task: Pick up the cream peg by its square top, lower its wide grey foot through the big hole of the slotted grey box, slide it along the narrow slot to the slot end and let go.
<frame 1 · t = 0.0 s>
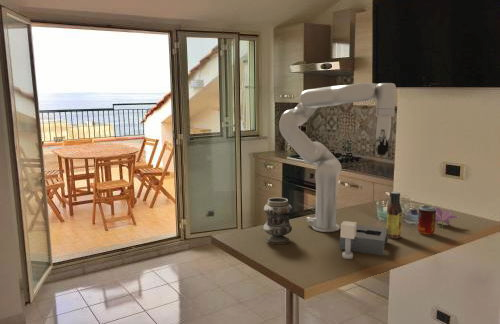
hand: (382, 152, 185), 37 cm above the countertop, tool pointing down, fingers open, 9 cm apart
lily: (442, 226, 203), on the countertop
slotted grey box: (364, 245, 178), on the countertop
peg: (347, 257, 166), on the countertop
soda can: (425, 234, 193), on the countertop
sauce bottle: (393, 237, 189), on the countertop
apothecary jar: (277, 240, 184), on the countertop
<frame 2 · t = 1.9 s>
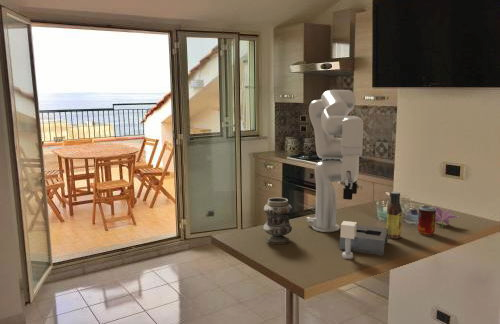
hand: (350, 196, 162), 24 cm above the countertop, tool pointing down, fingers open, 9 cm apart
nothing on the countertop moved.
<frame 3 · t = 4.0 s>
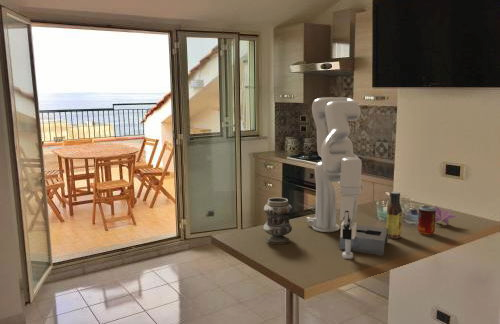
hand: (348, 236, 164), 8 cm above the countertop, tool pointing down, fingers closed on peg, 5 cm apart
peg: (347, 257, 166), on the countertop, touching gripper
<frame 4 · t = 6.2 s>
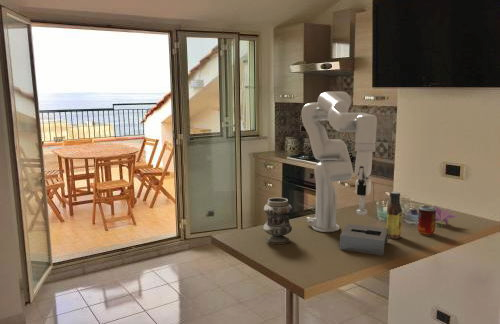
hand: (362, 192, 167), 24 cm above the countertop, tool pointing down, fingers closed on peg, 5 cm apart
peg: (361, 213, 169), point 16 cm above the countertop, touching gripper
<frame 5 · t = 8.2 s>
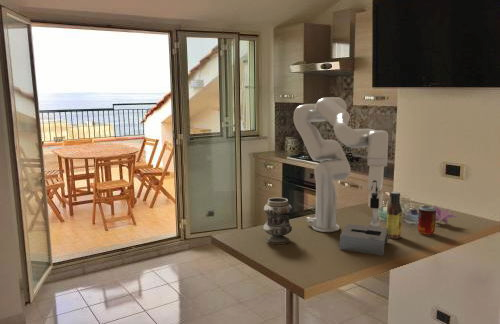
hand: (375, 205, 173), 17 cm above the countertop, tool pointing down, fingers closed on peg, 5 cm apart
peg: (374, 226, 175), point 9 cm above the countertop, touching gripper
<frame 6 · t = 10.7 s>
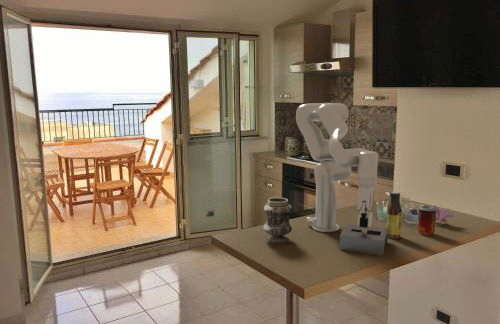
hand: (364, 224, 177), 9 cm above the countertop, tool pointing down, fingers closed on peg, 5 cm apart
peg: (363, 244, 178), point 1 cm above the countertop, touching gripper
when the fingers open (9 cm above the countertop, at t = 12.7 s): peg stays where it is, resting in slotted grey box.
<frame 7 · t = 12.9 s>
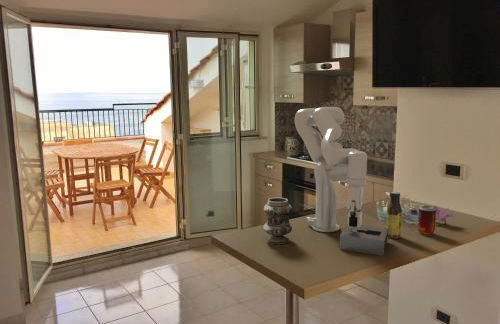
hand: (354, 223, 178), 9 cm above the countertop, tool pointing down, fingers open, 7 cm apart
peg: (353, 244, 180), resting in slotted grey box
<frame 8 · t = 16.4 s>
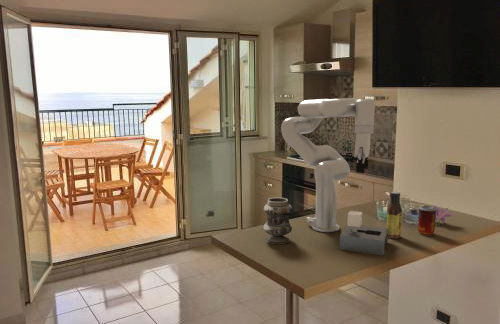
hand: (362, 170, 179), 30 cm above the countertop, tool pointing down, fingers open, 9 cm apart
at the end: peg 0.2 cm from the target spot on the slotted grey box, point 0.0 cm above the slotted grey box's base; peg tilted 0°; the gripper is holding nothing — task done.
